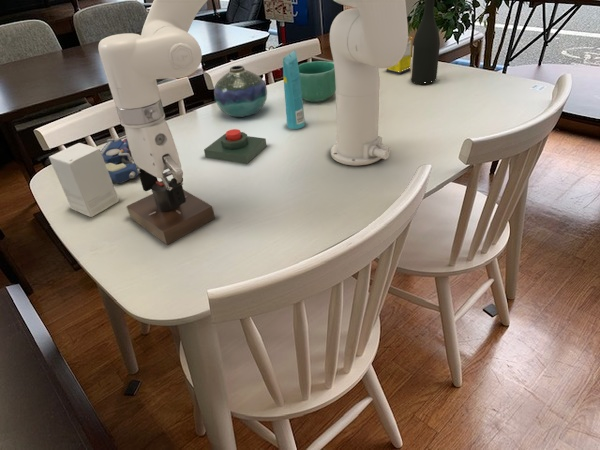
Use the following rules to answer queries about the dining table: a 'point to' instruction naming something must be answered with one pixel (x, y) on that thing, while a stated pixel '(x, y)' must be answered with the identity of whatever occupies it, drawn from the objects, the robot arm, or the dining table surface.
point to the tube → (293, 92)
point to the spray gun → (119, 160)
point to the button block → (236, 148)
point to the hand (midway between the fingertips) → (164, 196)
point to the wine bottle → (425, 48)
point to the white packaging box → (84, 179)
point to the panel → (171, 217)
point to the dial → (161, 197)
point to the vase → (240, 92)
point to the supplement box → (403, 60)
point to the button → (233, 135)
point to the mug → (317, 80)
